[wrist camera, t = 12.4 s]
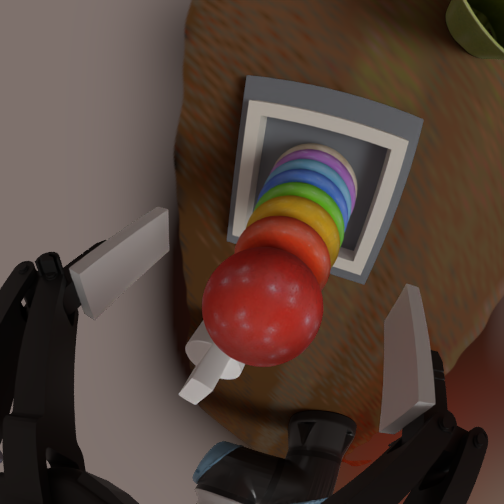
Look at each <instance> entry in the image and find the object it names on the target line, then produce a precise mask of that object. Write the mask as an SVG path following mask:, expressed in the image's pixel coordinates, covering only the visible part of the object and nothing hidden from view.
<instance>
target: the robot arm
mask: <svg viewBox="0 0 504 504" xmlns="http://www.w3.org/2000/svg"><path fill="white" fill-rule="evenodd" d="M168 222H169V221H168V209H164V208H161V207H156V208H154V209H153V210H151V211H150V212H148V213H147V214H145V215H144V216H142V217H141V218H139V219H137V220H136V221H134V222H133V223H131V224H130V225H128V226H127V227H125V228H124V229H123V230H121V231H119V232H118V233H116V234H115V235H114V236H112V237H111V238H109V239H108V240H104V241H101V242H99V243H96V244H95V245H93V246H92V247H91V248H89V250H86V251H85V252H84V253H83V254H81V255H80V256H78V257H77V258H76V259H74V260H73V261H72V262H70V263H69V264H68V265H66V266H65V267H64V268H63V267H62V263H61V260H60V257H59V255H58V254H57V253H55V252H48V253H45V254H42V255H41V256H40V257H38V258H37V260H36V261H35V263H36V266H37V269H38V271H37V270H36V269H35V266H34V264H33V262H31V261H24V262H22V263H20V264H18V265H17V266H16V267H15V268H14V270H13V271H12V273H11V274H10V276H9V277H8V278H7V280H6V281H5V283H4V284H3V286H2V287H1V289H0V443H1V441H2V438H3V454H2V452H1V451H0V463H1V462H2V461H3V464H4V472H0V504H139V503H138V502H137V501H135V500H134V499H133V498H132V497H131V496H130V495H129V494H127V493H126V492H124V491H123V490H121V489H119V488H118V487H116V486H115V485H113V484H112V483H110V482H109V481H107V480H104V479H102V478H100V477H97V476H95V475H93V474H90V473H88V472H86V471H85V465H84V459H83V455H82V452H81V450H80V448H79V446H78V443H77V440H76V430H75V413H74V363H75V346H76V334H77V323H78V315H79V314H78V309H77V308H78V307H79V306H82V308H83V311H84V313H85V314H86V315H87V316H89V317H90V318H92V319H93V320H96V319H97V318H98V317H99V316H100V315H101V314H102V313H103V312H104V311H105V310H106V309H107V308H108V307H109V306H110V305H111V304H112V303H113V302H114V301H115V300H116V299H117V298H118V297H119V296H120V295H121V294H123V292H125V291H126V290H127V289H128V288H129V287H130V286H131V285H132V284H133V283H134V282H135V281H136V280H137V279H138V278H140V277H141V275H143V274H144V273H145V272H146V271H147V270H148V269H149V268H150V267H152V266H153V265H154V264H155V263H156V262H157V261H158V260H159V259H160V258H162V257H163V256H164V255H165V254H166V253H167V252H168V251H169V224H168ZM23 298H24V300H25V302H26V305H25V306H24V307H23V305H22V303H21V301H22V299H23ZM443 372H444V369H443V362H442V360H441V358H440V355H439V353H438V352H436V351H432V350H430V343H429V336H428V330H427V325H426V319H425V314H424V309H423V304H422V300H421V295H420V291H419V288H418V287H415V286H412V285H409V284H406V285H405V287H404V289H403V291H402V292H401V294H400V296H399V298H398V299H397V301H396V303H395V304H394V306H393V308H392V309H391V311H390V313H389V314H388V316H387V318H386V319H385V321H384V378H383V395H382V408H381V418H380V427H379V432H382V433H389V434H395V433H397V432H399V431H400V430H401V429H403V430H402V437H401V438H399V439H397V440H396V441H394V442H392V443H391V444H389V445H388V446H389V447H390V446H391V447H390V448H389V449H387V450H386V451H385V452H384V453H383V454H382V456H380V457H379V458H378V459H377V460H376V461H375V462H373V463H372V464H371V465H370V466H369V467H368V468H366V469H365V470H364V471H363V472H362V473H361V474H359V475H358V476H357V477H356V478H354V479H353V480H352V481H351V482H349V483H348V484H347V485H345V486H344V487H343V488H341V489H340V490H339V491H337V492H336V493H335V494H333V491H334V487H335V483H336V480H337V476H338V472H339V468H340V464H341V460H342V457H343V455H344V454H345V452H346V450H347V449H348V447H349V445H350V444H351V442H352V440H353V438H354V436H355V433H356V427H357V426H356V423H355V422H354V421H353V420H351V419H350V418H348V417H346V416H343V415H340V414H336V413H332V412H325V411H304V412H300V413H297V414H294V415H293V416H292V417H291V419H290V422H289V425H288V445H289V449H288V453H287V456H286V458H285V459H283V458H279V457H276V456H272V455H269V454H265V453H262V452H258V451H255V450H252V449H249V448H246V447H244V446H242V445H237V444H233V443H230V442H226V441H222V442H219V443H217V444H216V445H214V446H213V447H212V449H210V450H209V451H208V453H207V454H206V455H205V456H204V458H203V459H202V460H201V462H200V464H199V465H198V467H197V469H196V471H195V472H194V475H193V481H194V482H195V483H196V484H198V485H197V487H196V488H195V492H196V494H197V496H198V501H197V503H196V504H398V503H399V502H400V501H401V500H402V499H403V498H404V497H405V496H406V495H407V494H408V493H409V492H410V493H409V495H408V496H407V498H406V499H405V501H404V503H403V504H466V503H467V501H468V499H469V496H470V494H471V492H472V489H473V487H474V484H475V482H476V479H477V476H478V474H479V471H480V468H481V465H482V462H483V459H484V456H485V453H486V449H487V446H488V437H487V434H486V432H485V431H484V429H482V428H481V427H475V428H473V429H472V430H470V431H469V432H468V431H466V430H464V429H462V428H460V427H458V426H457V423H456V419H455V417H454V415H453V414H452V413H451V412H449V411H448V410H447V398H446V386H445V381H444V380H445V378H444V373H443ZM13 399H14V402H13ZM12 402H13V412H12V413H11V414H9V413H10V409H11V406H12ZM46 460H47V461H48V462H49V464H50V466H51V468H47V464H46ZM332 494H333V495H332Z"/></svg>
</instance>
